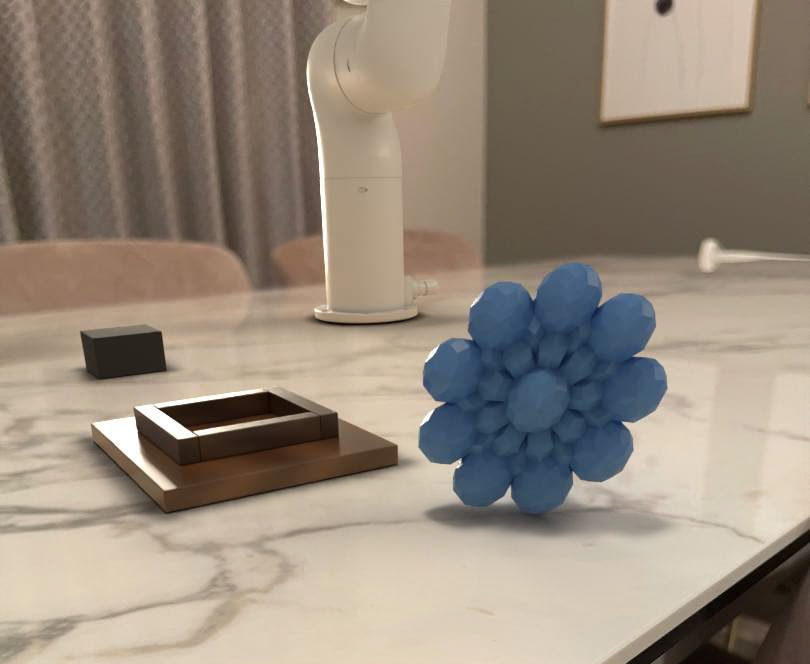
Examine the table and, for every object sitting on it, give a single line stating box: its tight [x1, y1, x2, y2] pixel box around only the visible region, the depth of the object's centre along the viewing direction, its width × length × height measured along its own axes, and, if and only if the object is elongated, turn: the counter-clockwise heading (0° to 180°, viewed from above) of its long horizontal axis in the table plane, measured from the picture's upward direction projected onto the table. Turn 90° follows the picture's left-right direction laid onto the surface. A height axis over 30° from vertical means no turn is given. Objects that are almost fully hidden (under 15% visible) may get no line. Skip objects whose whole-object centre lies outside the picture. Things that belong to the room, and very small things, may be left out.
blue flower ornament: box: [417, 262, 669, 515], centre depth 41 cm, size 12×7×12 cm, turn 82°
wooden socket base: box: [90, 385, 399, 513], centre depth 53 cm, size 14×16×3 cm
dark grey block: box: [79, 323, 168, 380], centre depth 76 cm, size 6×5×4 cm
